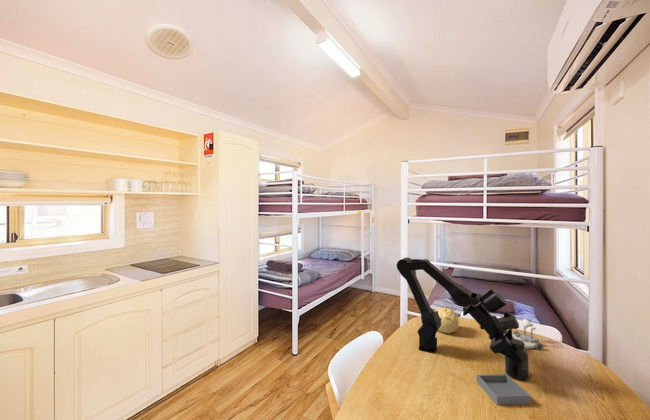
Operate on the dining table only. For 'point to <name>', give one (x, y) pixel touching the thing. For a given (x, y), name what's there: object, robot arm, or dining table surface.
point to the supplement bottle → (514, 368)
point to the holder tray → (503, 389)
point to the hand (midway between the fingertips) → (521, 357)
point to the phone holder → (527, 337)
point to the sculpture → (448, 320)
